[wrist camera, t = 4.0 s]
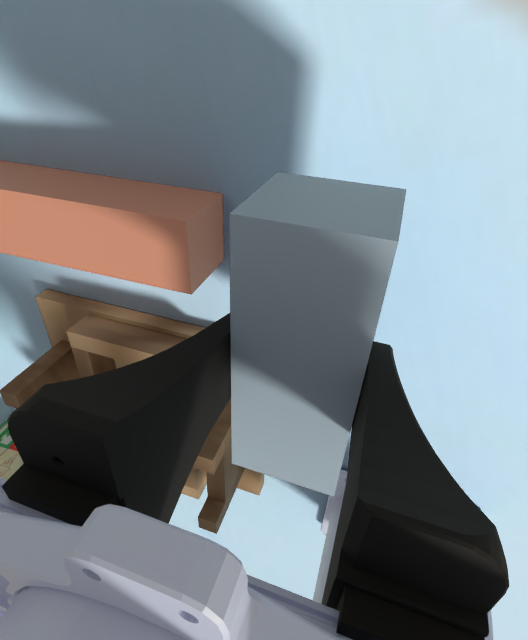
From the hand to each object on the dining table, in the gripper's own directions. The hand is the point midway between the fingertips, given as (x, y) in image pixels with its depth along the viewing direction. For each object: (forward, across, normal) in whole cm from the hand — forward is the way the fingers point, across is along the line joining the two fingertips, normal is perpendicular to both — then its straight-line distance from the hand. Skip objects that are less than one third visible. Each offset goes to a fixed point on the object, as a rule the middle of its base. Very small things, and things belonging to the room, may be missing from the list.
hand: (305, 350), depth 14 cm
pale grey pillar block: (+2, 0, 0) cm, 2 cm away
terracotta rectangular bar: (+7, +14, -1) cm, 15 cm away
